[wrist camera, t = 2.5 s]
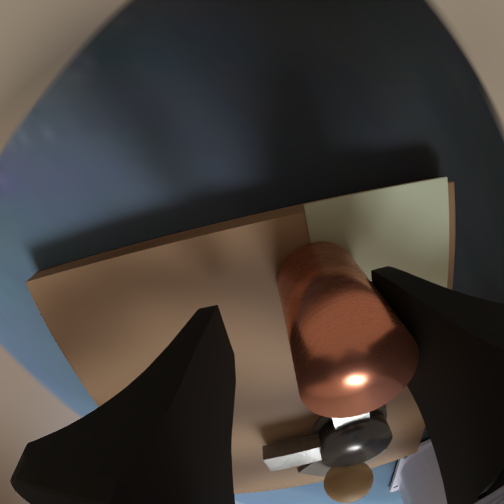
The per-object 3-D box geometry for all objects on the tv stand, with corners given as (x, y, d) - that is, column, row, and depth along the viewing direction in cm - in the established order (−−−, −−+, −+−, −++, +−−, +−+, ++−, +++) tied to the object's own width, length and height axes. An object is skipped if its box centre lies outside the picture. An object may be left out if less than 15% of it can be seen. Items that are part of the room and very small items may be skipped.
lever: (384, 432, 15) (409, 499, 10) (275, 463, 16) (281, 534, 11) (360, 226, 11) (437, 297, 6) (175, 285, 11) (136, 385, 6)
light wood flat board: (411, 441, 19) (431, 485, 14) (180, 483, 20) (174, 529, 15) (437, 170, 11) (512, 194, 7) (36, 266, 12) (-22, 314, 8)
